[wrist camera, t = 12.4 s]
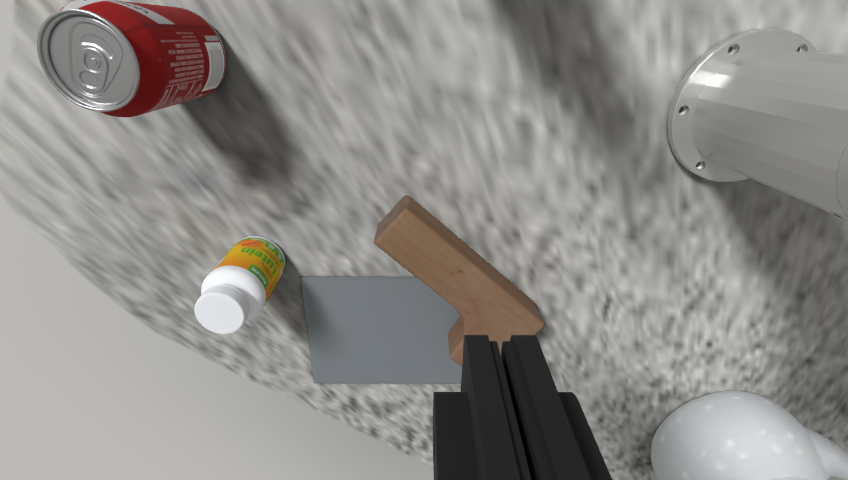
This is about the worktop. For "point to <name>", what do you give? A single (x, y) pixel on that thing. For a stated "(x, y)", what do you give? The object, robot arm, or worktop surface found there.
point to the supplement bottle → (239, 284)
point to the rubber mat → (378, 331)
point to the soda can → (130, 56)
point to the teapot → (741, 443)
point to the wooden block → (456, 277)
